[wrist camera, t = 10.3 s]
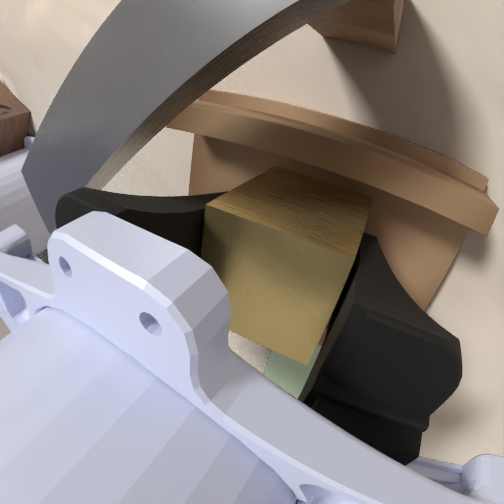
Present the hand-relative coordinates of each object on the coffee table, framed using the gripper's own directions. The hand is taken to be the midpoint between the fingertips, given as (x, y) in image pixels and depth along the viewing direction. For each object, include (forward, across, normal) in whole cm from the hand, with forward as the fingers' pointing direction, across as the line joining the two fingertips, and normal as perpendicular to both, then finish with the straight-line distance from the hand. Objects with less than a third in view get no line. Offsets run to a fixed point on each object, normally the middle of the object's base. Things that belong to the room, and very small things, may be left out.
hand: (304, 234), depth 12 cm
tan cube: (+1, 0, 0) cm, 1 cm away
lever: (-4, +4, -5) cm, 8 cm away
